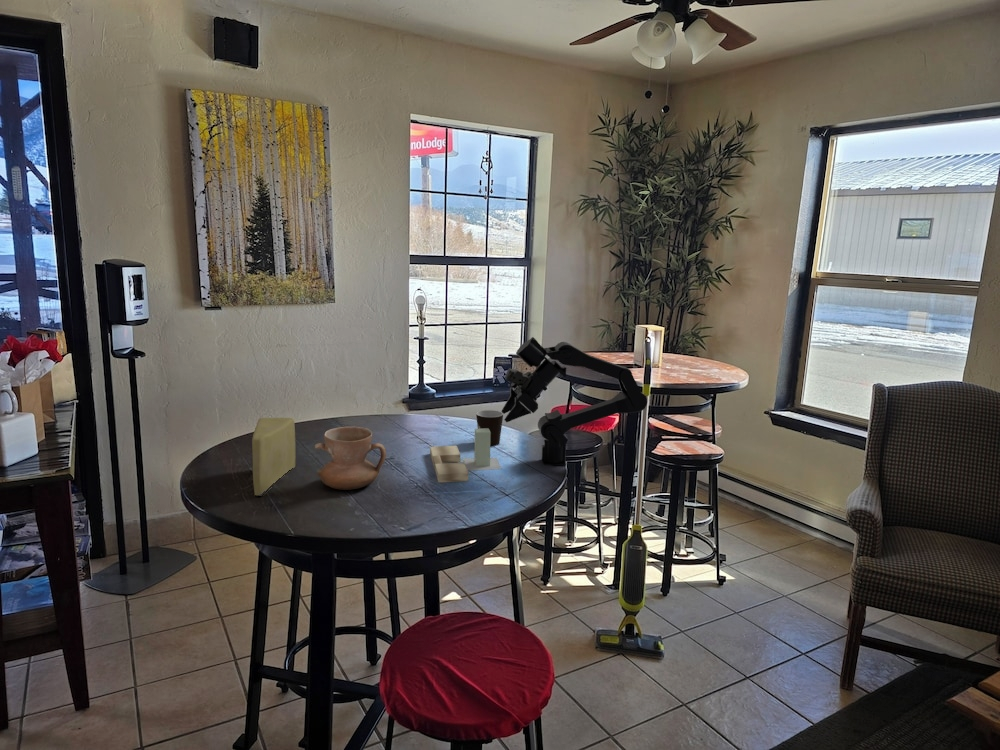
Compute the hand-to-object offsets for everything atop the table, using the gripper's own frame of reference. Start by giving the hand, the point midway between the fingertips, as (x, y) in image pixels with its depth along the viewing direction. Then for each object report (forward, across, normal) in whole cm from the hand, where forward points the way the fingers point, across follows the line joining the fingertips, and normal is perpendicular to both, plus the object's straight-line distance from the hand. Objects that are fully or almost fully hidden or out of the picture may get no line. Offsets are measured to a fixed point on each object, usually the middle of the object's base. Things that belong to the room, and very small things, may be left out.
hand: (503, 416), depth 185 cm
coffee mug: (+12, -20, +8) cm, 24 cm away
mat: (+14, +2, +5) cm, 15 cm away
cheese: (+53, +13, -37) cm, 66 cm away
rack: (+20, +3, -2) cm, 21 cm away
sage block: (+14, +2, +5) cm, 15 cm away
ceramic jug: (+38, +16, -21) cm, 46 cm away
